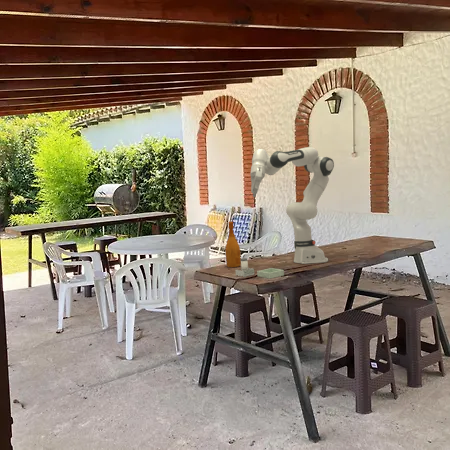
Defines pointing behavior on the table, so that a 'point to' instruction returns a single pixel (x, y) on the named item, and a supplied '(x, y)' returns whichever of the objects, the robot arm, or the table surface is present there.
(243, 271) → the housing
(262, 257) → the table surface
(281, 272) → the tray
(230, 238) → the wine bottle
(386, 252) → the table surface
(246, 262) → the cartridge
